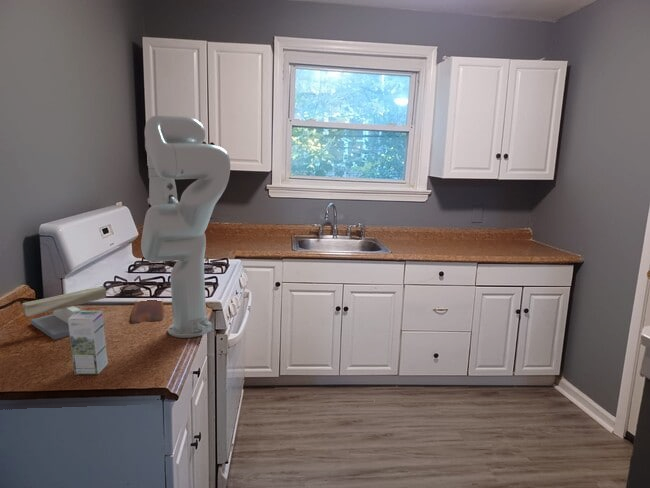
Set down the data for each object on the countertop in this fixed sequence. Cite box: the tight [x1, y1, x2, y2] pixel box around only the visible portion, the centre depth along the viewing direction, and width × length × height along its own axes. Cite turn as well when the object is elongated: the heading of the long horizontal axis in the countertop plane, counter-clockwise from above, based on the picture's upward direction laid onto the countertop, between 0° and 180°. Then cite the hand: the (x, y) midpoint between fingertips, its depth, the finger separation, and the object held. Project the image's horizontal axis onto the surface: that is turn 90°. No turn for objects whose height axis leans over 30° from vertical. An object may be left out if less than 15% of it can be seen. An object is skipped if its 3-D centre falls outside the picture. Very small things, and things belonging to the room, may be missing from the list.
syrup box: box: [68, 310, 108, 376], centre depth 106 cm, size 6×6×14 cm
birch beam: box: [22, 286, 107, 317], centre depth 133 cm, size 3×22×3 cm, turn 140°
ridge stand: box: [30, 305, 105, 341], centre depth 135 cm, size 18×14×6 cm
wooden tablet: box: [130, 300, 165, 324], centre depth 151 cm, size 27×10×2 cm, turn 19°
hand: (164, 225), depth 148 cm, fingers open, 9 cm apart
